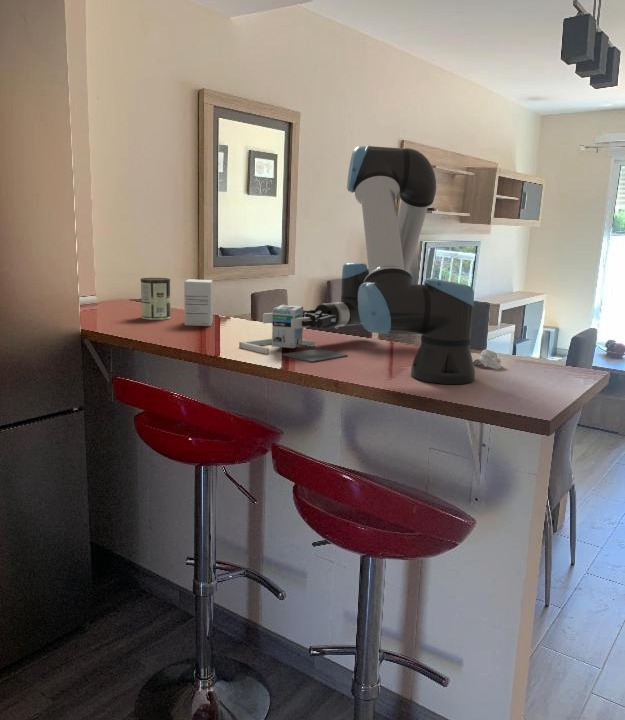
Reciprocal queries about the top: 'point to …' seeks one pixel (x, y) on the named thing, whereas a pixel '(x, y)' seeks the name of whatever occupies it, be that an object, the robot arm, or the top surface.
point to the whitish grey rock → (488, 359)
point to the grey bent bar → (255, 344)
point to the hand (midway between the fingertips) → (277, 321)
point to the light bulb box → (286, 326)
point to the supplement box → (198, 302)
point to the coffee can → (155, 298)
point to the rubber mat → (314, 355)
